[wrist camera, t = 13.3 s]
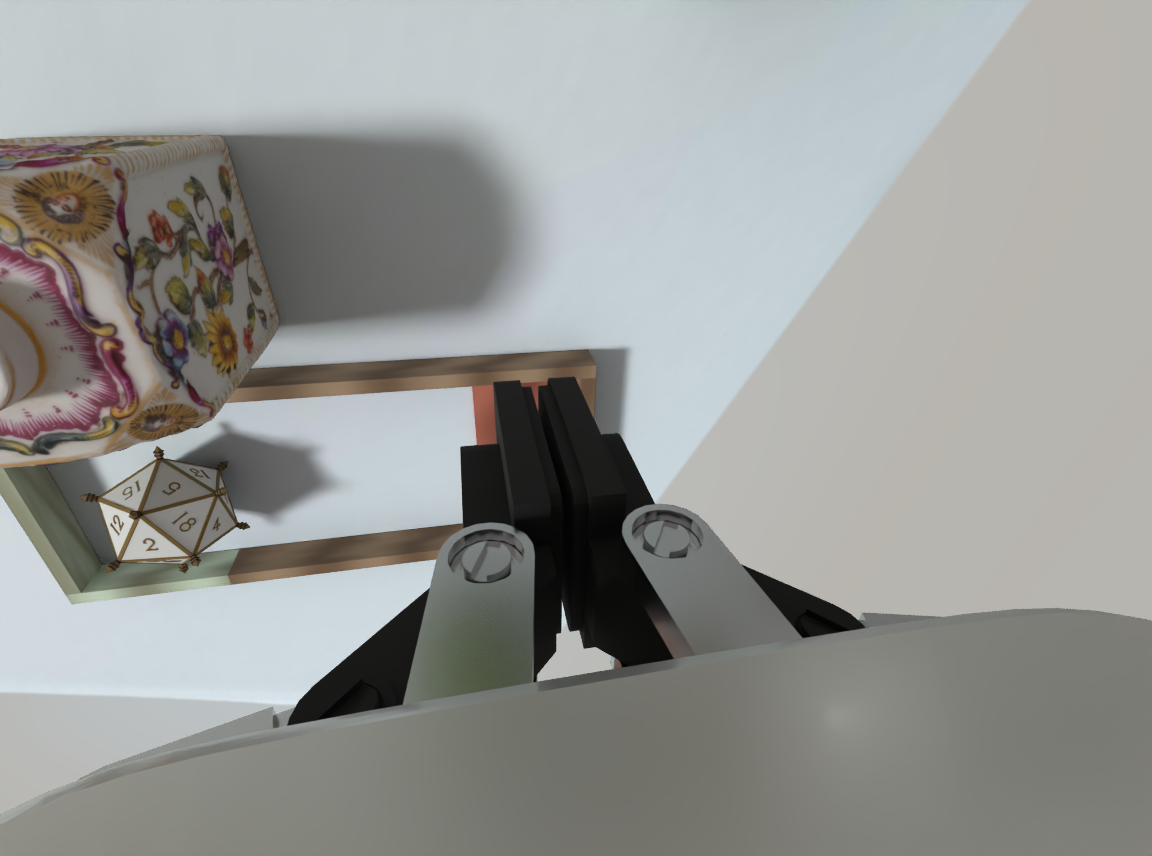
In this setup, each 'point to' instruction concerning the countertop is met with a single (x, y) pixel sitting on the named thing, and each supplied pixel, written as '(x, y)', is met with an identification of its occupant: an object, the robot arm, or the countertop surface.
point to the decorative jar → (122, 292)
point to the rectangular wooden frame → (89, 582)
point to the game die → (166, 513)
